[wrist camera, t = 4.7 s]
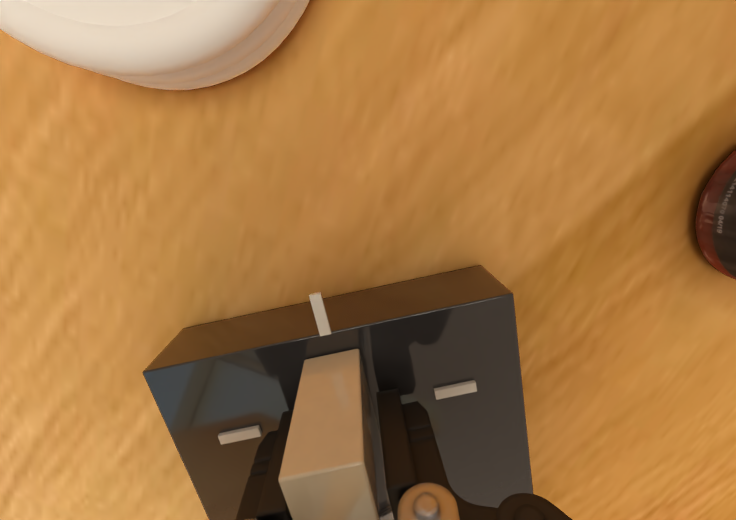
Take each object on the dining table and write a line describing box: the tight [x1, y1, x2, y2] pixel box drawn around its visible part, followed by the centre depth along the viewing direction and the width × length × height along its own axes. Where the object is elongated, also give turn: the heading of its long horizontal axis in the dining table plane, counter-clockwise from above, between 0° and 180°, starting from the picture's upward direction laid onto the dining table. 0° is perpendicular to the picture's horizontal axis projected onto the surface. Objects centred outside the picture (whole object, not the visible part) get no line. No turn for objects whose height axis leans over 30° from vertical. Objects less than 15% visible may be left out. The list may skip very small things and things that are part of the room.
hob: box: [143, 265, 533, 520], centre depth 15 cm, size 17×12×3 cm
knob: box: [278, 349, 393, 520], centre depth 10 cm, size 5×2×5 cm, turn 12°
